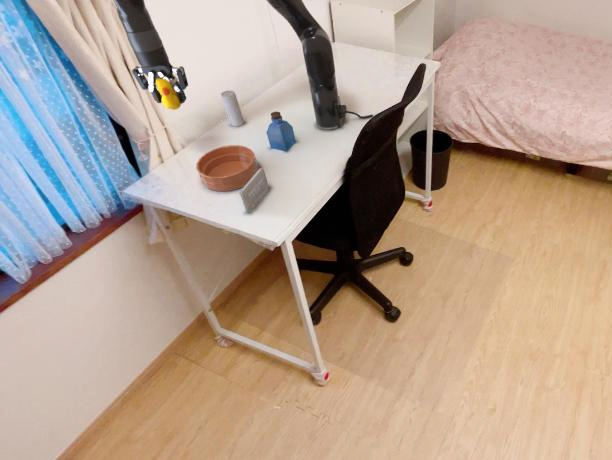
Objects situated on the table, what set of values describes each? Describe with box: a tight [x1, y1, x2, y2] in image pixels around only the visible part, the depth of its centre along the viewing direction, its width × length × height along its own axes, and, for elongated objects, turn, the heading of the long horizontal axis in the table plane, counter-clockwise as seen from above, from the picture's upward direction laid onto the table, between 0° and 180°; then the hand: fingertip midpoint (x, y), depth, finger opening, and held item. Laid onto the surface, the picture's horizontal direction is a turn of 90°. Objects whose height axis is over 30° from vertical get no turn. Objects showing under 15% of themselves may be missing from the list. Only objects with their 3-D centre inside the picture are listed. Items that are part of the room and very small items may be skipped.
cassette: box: [239, 167, 270, 213], centre depth 126 cm, size 12×2×8 cm, turn 166°
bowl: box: [195, 144, 260, 192], centre depth 136 cm, size 17×17×6 cm
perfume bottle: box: [265, 111, 297, 152], centre depth 146 cm, size 6×6×12 cm
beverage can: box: [220, 90, 245, 128], centre depth 155 cm, size 5×5×12 cm
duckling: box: [155, 78, 183, 111], centre depth 126 cm, size 11×5×10 cm, turn 25°
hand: (171, 101), depth 129 cm, fingers closed on duckling, 6 cm apart
